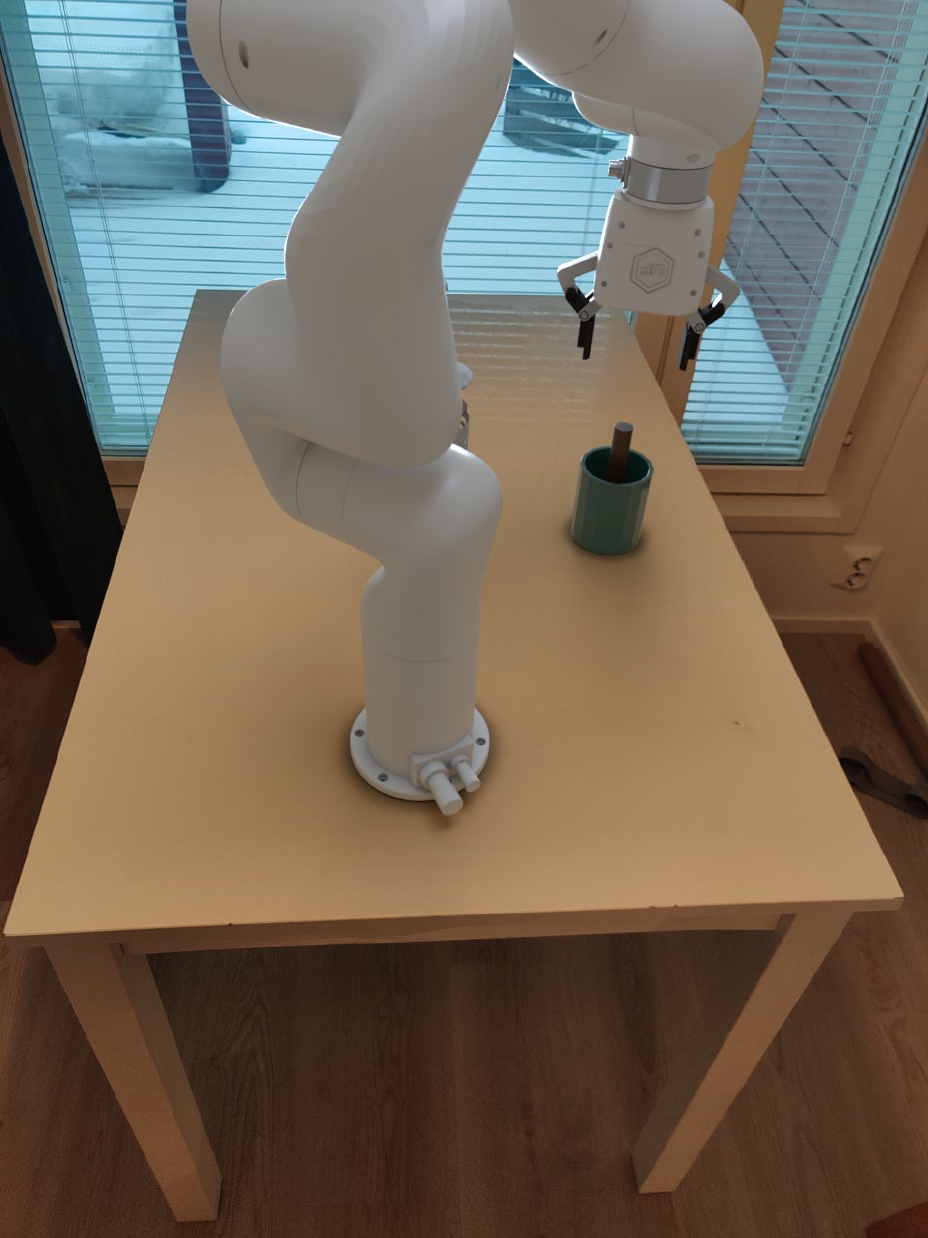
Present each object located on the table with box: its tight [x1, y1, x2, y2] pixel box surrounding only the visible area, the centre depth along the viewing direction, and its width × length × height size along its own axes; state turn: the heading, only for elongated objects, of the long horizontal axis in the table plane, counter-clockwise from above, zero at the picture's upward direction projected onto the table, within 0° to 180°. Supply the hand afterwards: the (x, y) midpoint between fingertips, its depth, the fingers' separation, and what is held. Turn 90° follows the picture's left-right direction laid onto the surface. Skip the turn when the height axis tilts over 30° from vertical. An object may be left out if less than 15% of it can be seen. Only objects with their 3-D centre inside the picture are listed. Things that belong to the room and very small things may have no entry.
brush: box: [606, 421, 634, 484], centre depth 104 cm, size 4×4×14 cm
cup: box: [570, 445, 655, 556], centre depth 106 cm, size 8×8×10 cm
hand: (633, 359), depth 94 cm, fingers open, 9 cm apart
